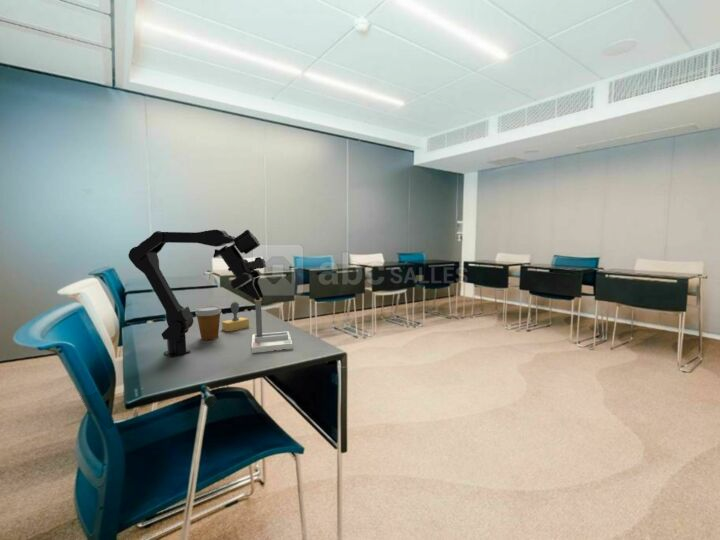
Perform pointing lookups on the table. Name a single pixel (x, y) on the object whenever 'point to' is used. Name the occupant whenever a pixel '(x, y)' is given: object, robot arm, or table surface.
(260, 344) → the switch base
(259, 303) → the switch handle
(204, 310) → the disposable coffee cup
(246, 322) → the rubber stamp
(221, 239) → the robot arm
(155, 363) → the table surface
